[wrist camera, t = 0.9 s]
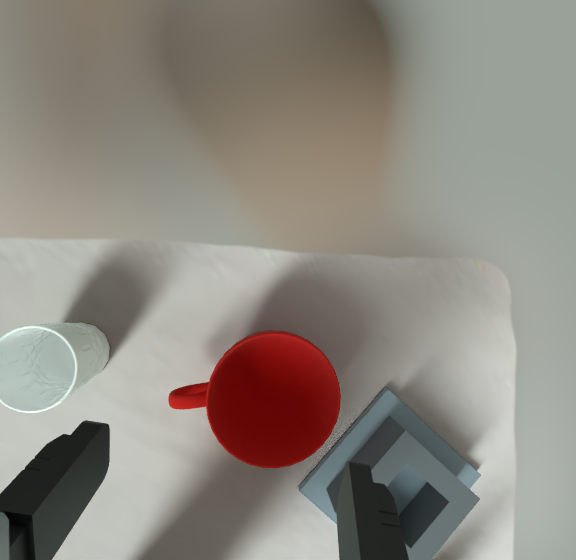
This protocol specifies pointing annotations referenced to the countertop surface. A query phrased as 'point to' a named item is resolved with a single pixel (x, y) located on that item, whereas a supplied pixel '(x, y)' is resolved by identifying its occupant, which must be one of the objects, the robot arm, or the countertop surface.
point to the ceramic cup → (268, 399)
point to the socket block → (401, 473)
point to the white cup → (49, 363)
